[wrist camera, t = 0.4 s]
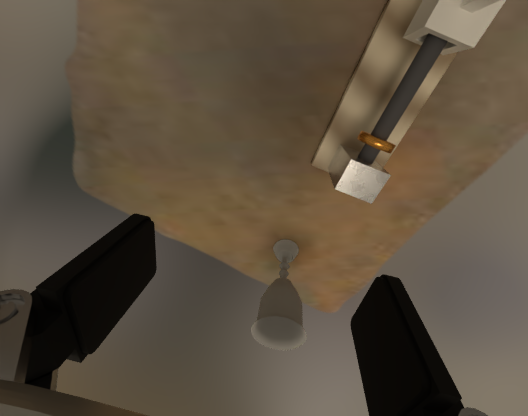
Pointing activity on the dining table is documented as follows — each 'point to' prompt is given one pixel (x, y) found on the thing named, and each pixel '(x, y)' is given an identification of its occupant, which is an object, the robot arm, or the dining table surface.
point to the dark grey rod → (404, 93)
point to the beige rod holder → (379, 85)
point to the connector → (359, 170)
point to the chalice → (281, 307)
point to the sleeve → (453, 22)
